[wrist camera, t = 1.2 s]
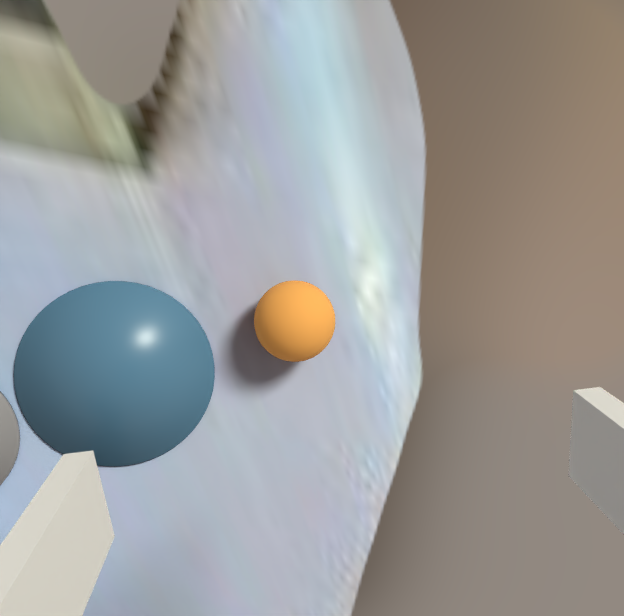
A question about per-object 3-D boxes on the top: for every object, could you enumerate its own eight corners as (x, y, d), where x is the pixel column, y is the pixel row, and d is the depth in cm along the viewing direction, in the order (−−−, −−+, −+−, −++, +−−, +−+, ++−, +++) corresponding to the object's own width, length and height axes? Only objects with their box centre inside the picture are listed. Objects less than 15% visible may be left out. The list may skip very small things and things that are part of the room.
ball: (303, 364, 38) (321, 383, 33) (237, 333, 37) (243, 348, 31) (336, 298, 38) (359, 307, 33) (271, 264, 37) (283, 268, 31)
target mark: (165, 490, 37) (165, 492, 37) (-20, 423, 34) (-21, 424, 34) (245, 330, 37) (245, 330, 37) (67, 247, 34) (66, 247, 33)
